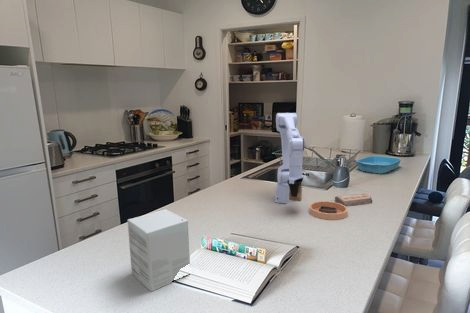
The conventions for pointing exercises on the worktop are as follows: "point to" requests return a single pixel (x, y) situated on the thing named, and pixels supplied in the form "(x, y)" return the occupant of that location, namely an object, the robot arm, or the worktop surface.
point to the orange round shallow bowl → (340, 214)
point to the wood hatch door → (299, 194)
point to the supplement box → (158, 247)
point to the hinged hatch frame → (327, 209)
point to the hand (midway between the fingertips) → (294, 195)
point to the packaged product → (353, 199)
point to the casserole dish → (378, 164)
